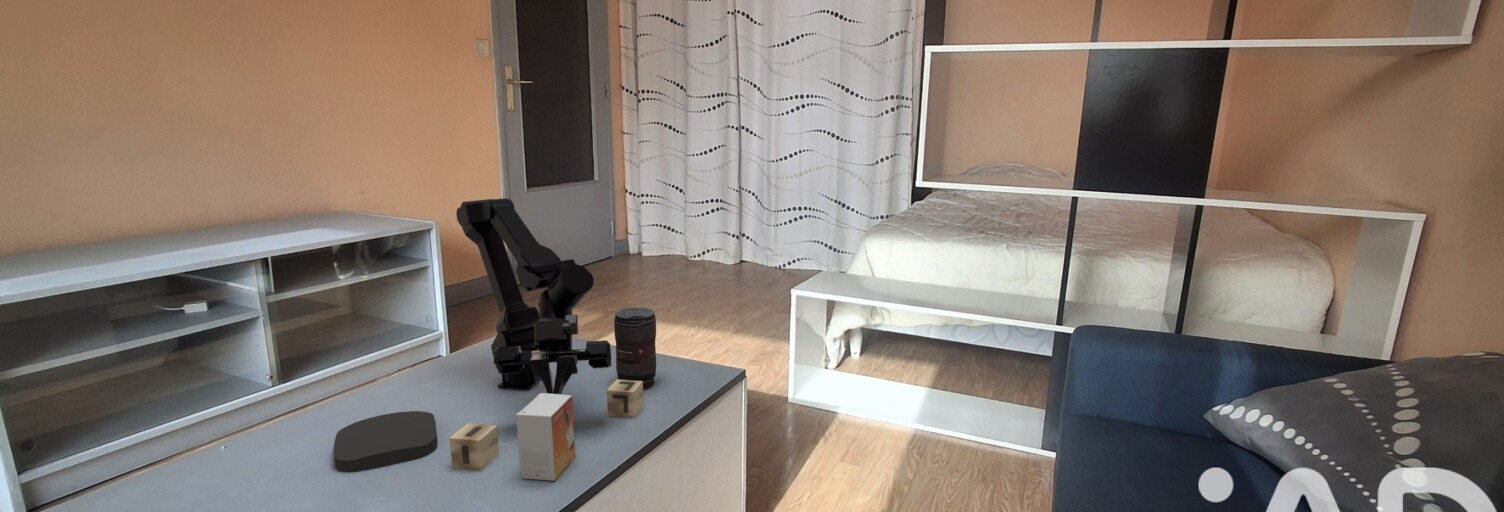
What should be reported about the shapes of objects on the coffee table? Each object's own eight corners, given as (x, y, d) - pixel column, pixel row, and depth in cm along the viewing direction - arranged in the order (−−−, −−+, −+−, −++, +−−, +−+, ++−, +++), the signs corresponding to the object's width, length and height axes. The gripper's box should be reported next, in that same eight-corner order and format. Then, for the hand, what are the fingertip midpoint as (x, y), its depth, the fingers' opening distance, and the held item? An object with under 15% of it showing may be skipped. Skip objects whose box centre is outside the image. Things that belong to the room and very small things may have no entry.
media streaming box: (333, 479, 102) (330, 461, 102) (339, 437, 115) (337, 421, 114) (439, 456, 109) (438, 439, 108) (434, 419, 121) (432, 404, 121)
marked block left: (451, 468, 105) (448, 437, 104) (470, 451, 110) (468, 422, 109) (481, 471, 104) (478, 440, 103) (499, 454, 109) (496, 425, 108)
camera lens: (662, 388, 134) (660, 315, 131) (621, 394, 131) (618, 320, 128) (652, 373, 141) (649, 304, 138) (613, 379, 138) (609, 308, 135)
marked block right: (607, 416, 122) (606, 389, 121) (618, 404, 127) (616, 378, 126) (634, 418, 121) (633, 392, 120) (643, 406, 126) (642, 380, 125)
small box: (555, 482, 101) (550, 417, 99) (519, 479, 102) (514, 414, 99) (577, 455, 109) (573, 394, 106) (543, 452, 109) (539, 391, 107)
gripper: (490, 300, 111) (483, 391, 103) (607, 294, 114) (609, 382, 106) (502, 331, 120) (496, 416, 112) (610, 325, 123) (612, 407, 115)
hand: (553, 405), depth 111 cm, fingers closed
